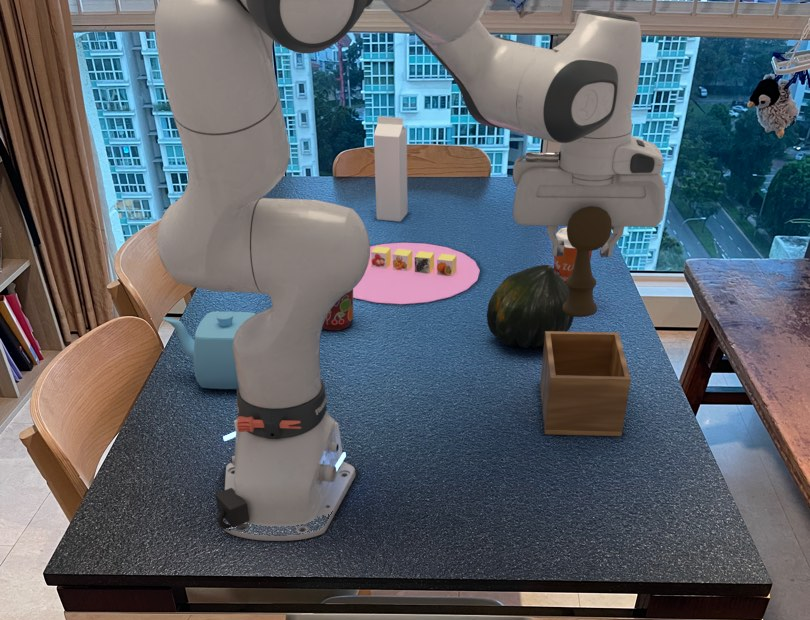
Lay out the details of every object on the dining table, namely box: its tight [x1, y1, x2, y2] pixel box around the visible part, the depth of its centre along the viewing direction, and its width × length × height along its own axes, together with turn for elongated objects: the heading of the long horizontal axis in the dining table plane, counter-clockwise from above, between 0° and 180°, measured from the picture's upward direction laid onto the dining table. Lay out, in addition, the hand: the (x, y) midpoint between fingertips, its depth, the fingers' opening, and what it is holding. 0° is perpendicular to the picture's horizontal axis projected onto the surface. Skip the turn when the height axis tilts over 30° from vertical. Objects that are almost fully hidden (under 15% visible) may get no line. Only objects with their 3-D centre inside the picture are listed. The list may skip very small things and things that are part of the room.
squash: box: [486, 264, 575, 349], centre depth 155 cm, size 14×15×15 cm
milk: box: [373, 115, 409, 223], centre depth 202 cm, size 6×6×22 cm
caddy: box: [539, 331, 632, 437], centre depth 137 cm, size 15×12×10 cm
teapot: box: [162, 311, 256, 390], centre depth 146 cm, size 12×18×12 cm
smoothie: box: [322, 289, 354, 331], centre depth 159 cm, size 8×8×20 cm
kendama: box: [562, 206, 612, 318], centre depth 123 cm, size 6×10×20 cm, turn 178°
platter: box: [353, 242, 481, 306], centre depth 182 cm, size 32×32×3 cm
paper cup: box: [553, 226, 593, 285], centre depth 165 cm, size 8×8×14 cm
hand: (581, 255), depth 124 cm, fingers closed on kendama, 5 cm apart
